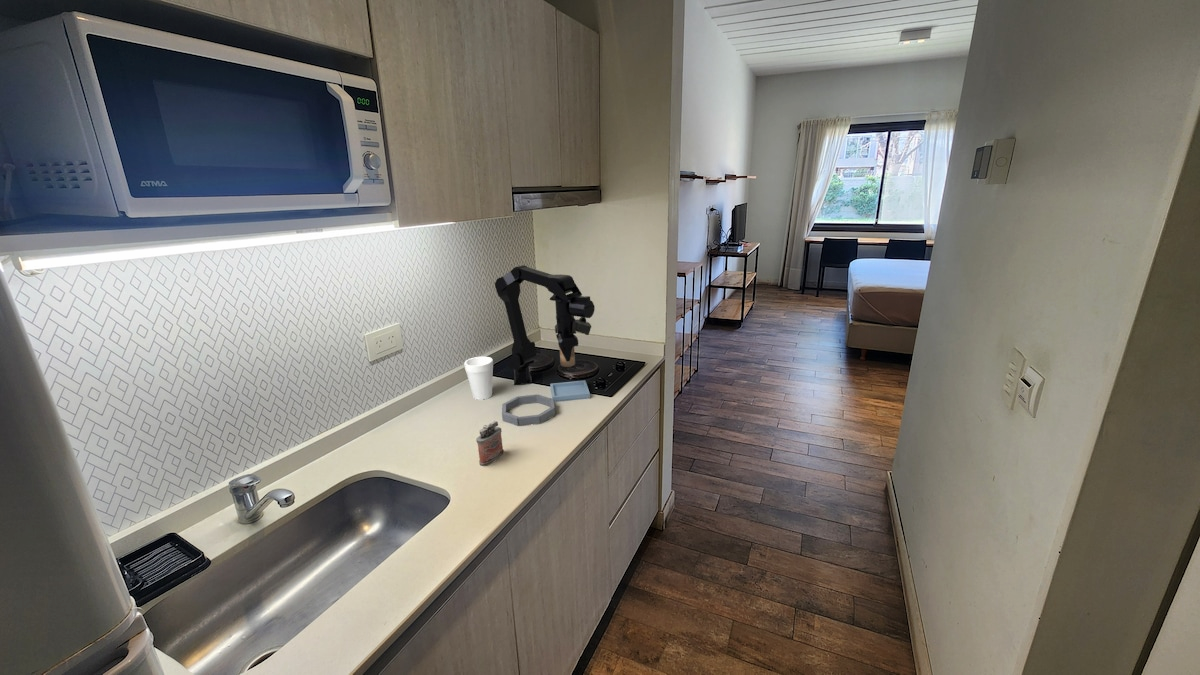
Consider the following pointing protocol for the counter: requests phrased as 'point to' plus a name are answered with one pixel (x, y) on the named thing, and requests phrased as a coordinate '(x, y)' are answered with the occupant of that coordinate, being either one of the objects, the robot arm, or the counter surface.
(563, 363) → the walnut cylinder
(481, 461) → the lighter
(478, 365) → the foam cup
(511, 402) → the holder ring
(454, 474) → the counter surface
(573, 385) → the tray
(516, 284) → the robot arm
